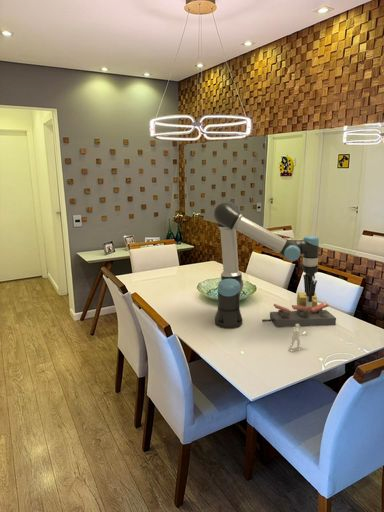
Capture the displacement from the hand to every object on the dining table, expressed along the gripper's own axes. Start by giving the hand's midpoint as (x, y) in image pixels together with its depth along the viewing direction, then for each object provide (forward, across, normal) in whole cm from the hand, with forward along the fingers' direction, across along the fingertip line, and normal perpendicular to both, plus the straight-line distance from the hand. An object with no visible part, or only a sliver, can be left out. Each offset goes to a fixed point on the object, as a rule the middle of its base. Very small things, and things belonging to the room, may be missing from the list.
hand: (308, 306), depth 193 cm
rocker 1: (+1, 0, +15) cm, 15 cm away
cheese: (+8, +13, -4) cm, 16 cm away
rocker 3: (+1, 0, -6) cm, 6 cm away
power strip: (+7, -2, +8) cm, 11 cm away
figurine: (+8, -32, +18) cm, 38 cm away
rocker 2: (+1, 0, +4) cm, 5 cm away
